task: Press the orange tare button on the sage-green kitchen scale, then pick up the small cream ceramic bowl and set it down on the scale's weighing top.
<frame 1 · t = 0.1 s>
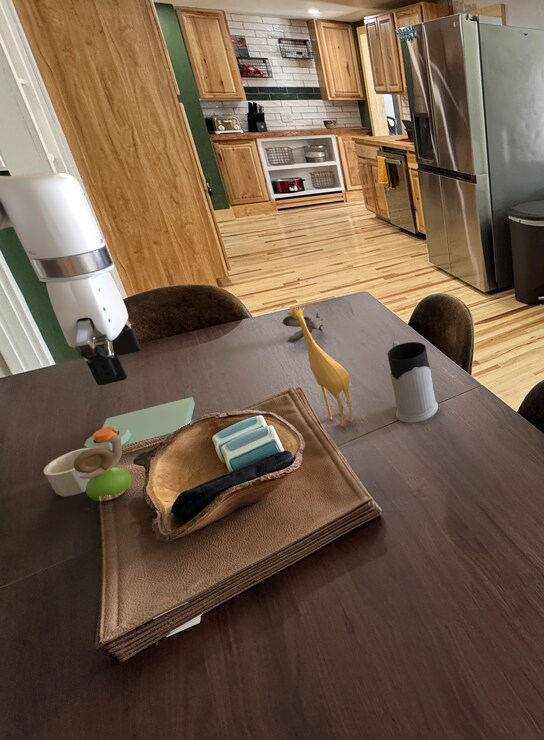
hand: (121, 366, 73), 25 cm above the table, tool pointing down, fingers open, 9 cm apart
snail figurine: (119, 495, 82), on the table
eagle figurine: (306, 335, 135), on the table
giraffe: (335, 416, 102), on the table
scale: (148, 431, 97), on the table
glass holder: (413, 404, 106), on the table
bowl: (83, 482, 84), on the table
tare button: (105, 434, 90), point 4 cm above the table, slide at 0.1 cm
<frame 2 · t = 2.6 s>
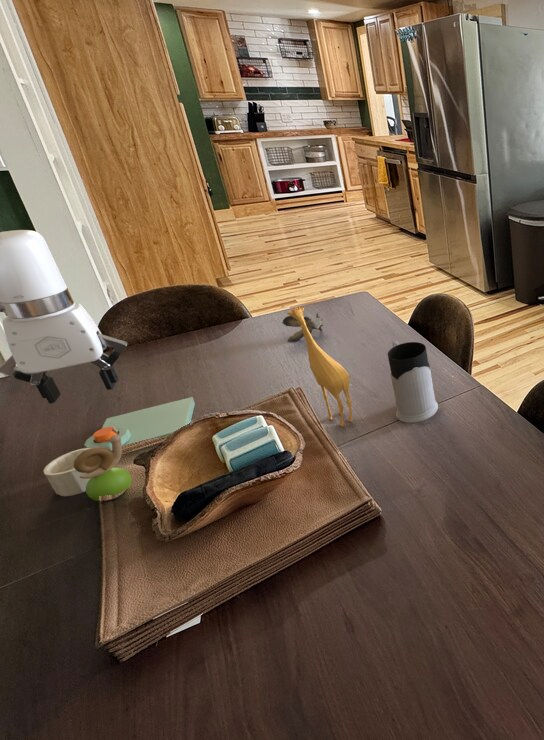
hand: (84, 391, 86), 14 cm above the table, tool pointing down, fingers open, 6 cm apart
nothing on the table moved.
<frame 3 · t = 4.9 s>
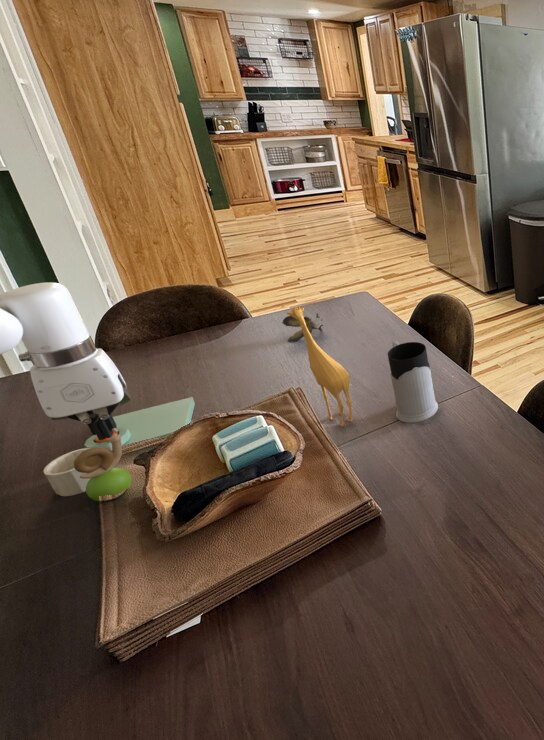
hand: (107, 434, 90), 4 cm above the table, tool pointing down, fingers closed
tare button: (107, 438, 91), point 3 cm above the table, slide at -0.8 cm, touching gripper
everything else where it was.
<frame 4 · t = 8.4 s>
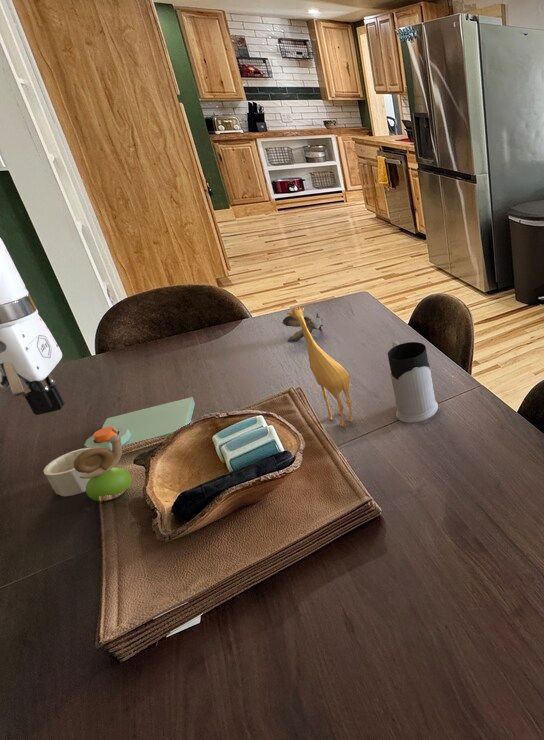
hand: (50, 409, 80), 15 cm above the table, tool pointing down, fingers closed
tare button: (105, 434, 90), point 4 cm above the table, slide at 0.1 cm
everything else where it was.
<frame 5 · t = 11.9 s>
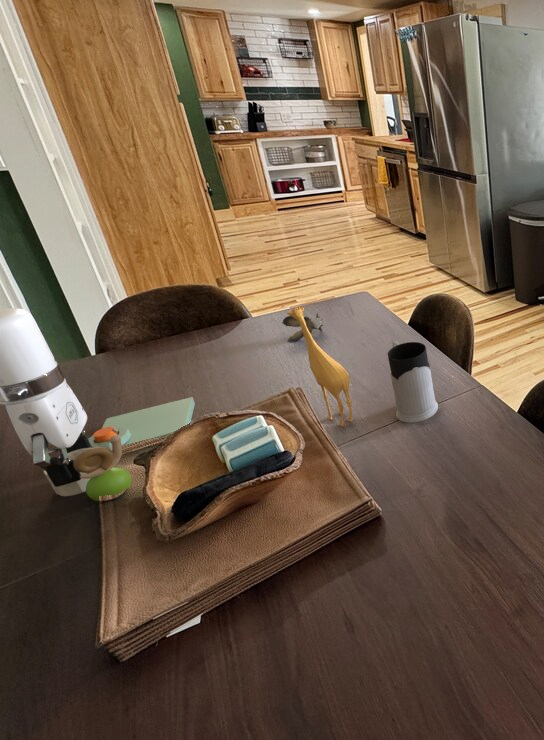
hand: (75, 468, 83), 3 cm above the table, tool pointing down, fingers closed on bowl, 6 cm apart
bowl: (83, 482, 84), on the table, touching gripper
everything else where it was.
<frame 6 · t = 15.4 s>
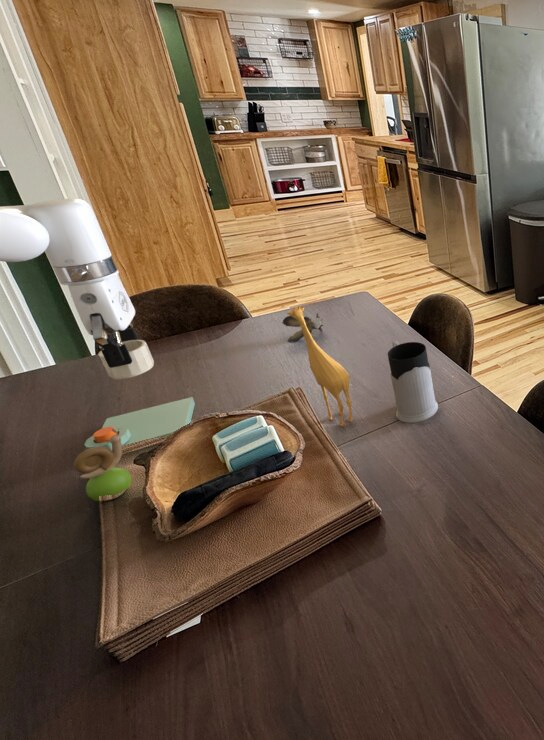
hand: (125, 355, 91), 17 cm above the table, tool pointing down, fingers closed on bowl, 6 cm apart
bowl: (132, 370, 92), point 14 cm above the table, touching gripper
everything else where it was.
when the fingers open (5 cm above the table, at t = 18.9 s): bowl stays where it is, resting on scale.
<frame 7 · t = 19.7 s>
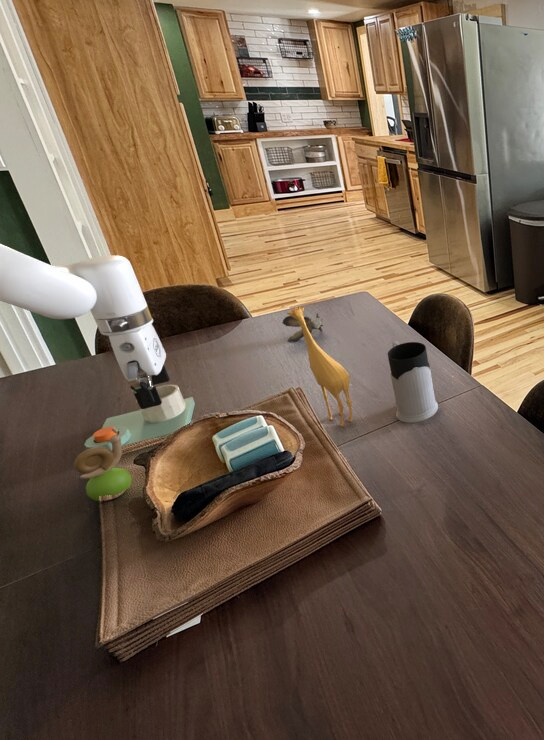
hand: (156, 394, 97), 7 cm above the table, tool pointing down, fingers open, 9 cm apart
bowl: (166, 413, 99), point 2 cm above the table, touching scale
everything else where it was.
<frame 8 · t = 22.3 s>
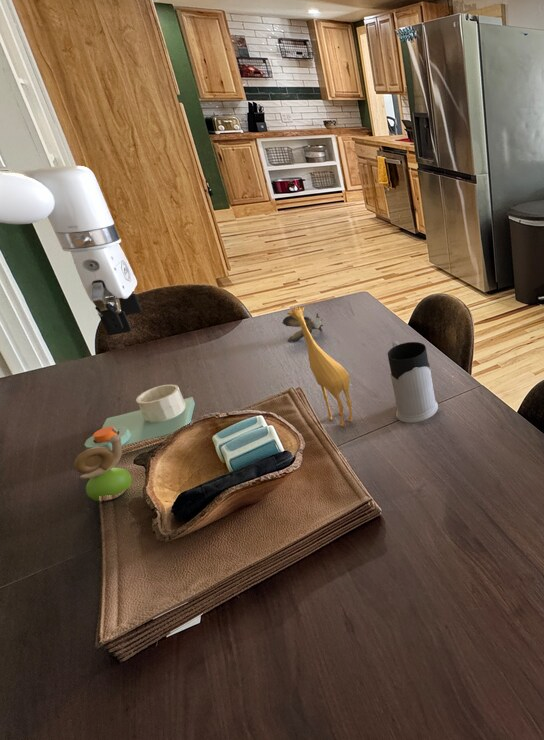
hand: (126, 322, 91), 23 cm above the table, tool pointing down, fingers open, 9 cm apart
nothing on the table moved.
at the end: tare button pushed in 0.9 cm at the most during the clip, back to where it started at the end; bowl inside the target area on the scale (0.4 cm from its centre), point 1.9 cm above the scale's base; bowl tilted 0° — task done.
